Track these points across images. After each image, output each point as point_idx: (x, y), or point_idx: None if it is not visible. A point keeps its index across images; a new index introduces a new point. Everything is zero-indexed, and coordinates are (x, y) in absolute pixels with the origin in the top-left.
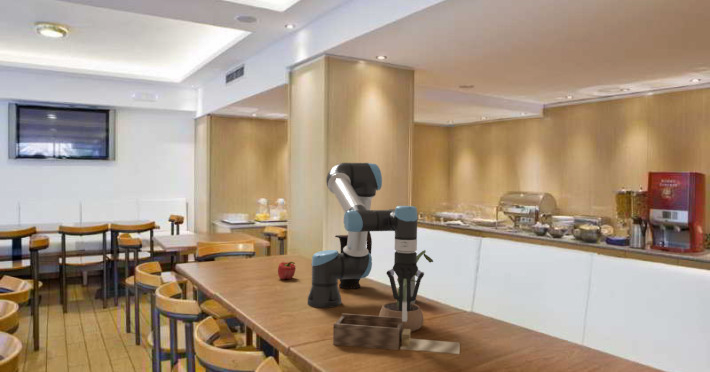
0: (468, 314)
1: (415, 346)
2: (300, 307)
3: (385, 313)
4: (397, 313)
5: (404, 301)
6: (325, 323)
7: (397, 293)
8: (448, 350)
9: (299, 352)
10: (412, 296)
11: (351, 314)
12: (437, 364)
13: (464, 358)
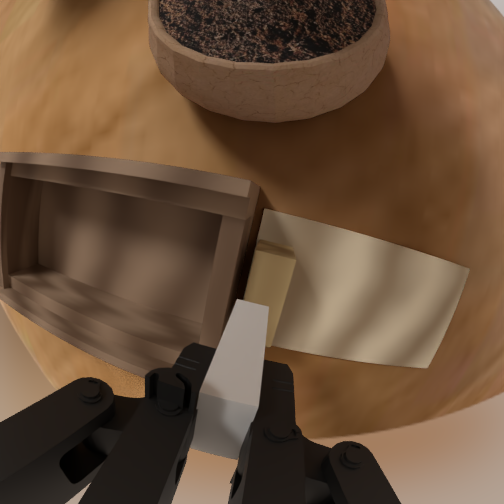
0: (487, 5)
1: (301, 318)
2: (26, 5)
3: (159, 53)
4: (225, 76)
5: (214, 431)
6: (28, 84)
7: (83, 430)
8: (408, 350)
9: (11, 320)
10: (316, 488)
11: (12, 160)
12: (330, 434)
13: (421, 392)
